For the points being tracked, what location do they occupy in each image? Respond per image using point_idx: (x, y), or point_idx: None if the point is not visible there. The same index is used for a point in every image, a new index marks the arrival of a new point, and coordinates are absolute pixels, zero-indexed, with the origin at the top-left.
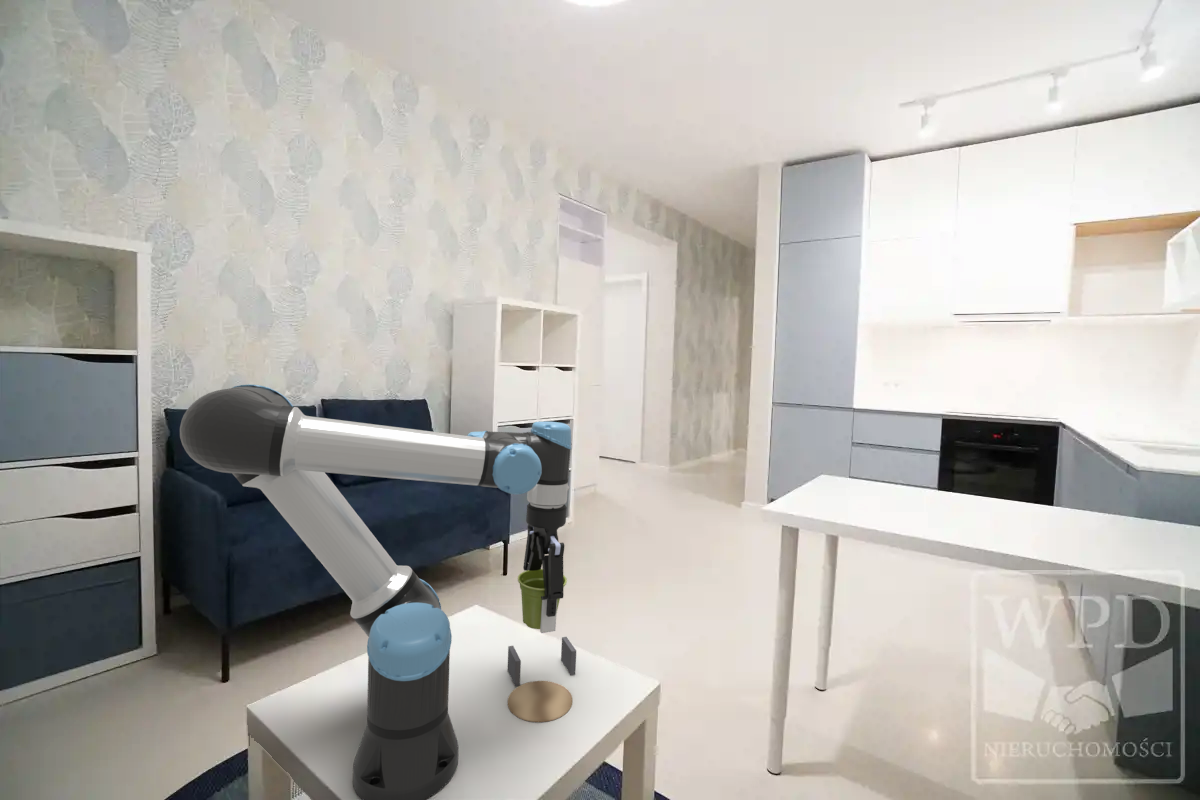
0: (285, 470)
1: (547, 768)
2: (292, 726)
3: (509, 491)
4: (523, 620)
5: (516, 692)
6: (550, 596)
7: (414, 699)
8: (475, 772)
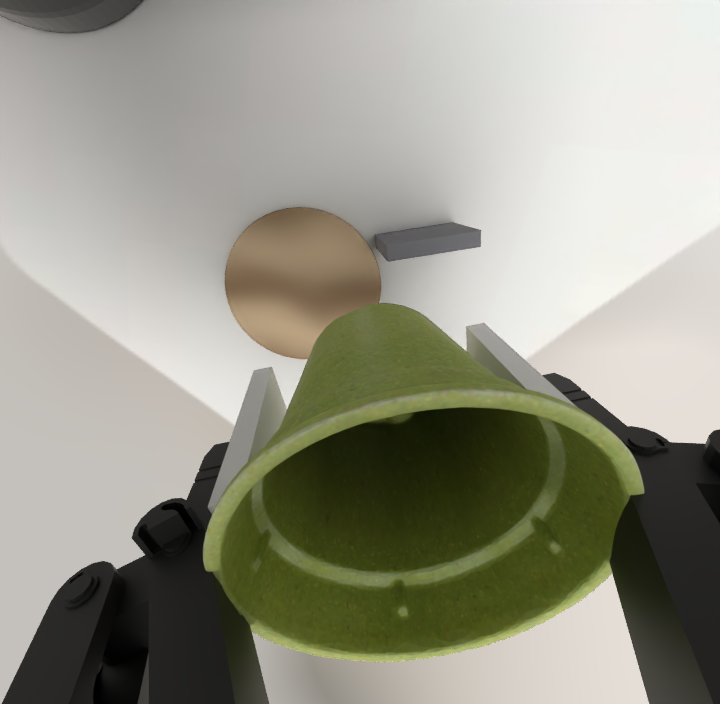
0: None
1: (69, 274)
2: None
3: None
4: (368, 307)
5: (342, 236)
6: (60, 601)
7: None
8: (27, 89)
